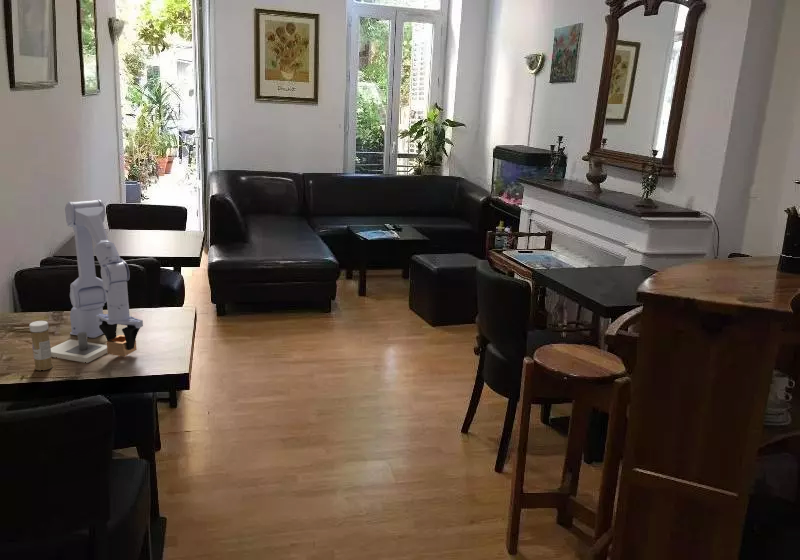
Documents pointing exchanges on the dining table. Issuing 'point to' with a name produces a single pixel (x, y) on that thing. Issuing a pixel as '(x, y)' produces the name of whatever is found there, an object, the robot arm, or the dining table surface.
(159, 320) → the dining table surface
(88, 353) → the post stand
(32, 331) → the sprinkles bottle
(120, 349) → the small wooden box
